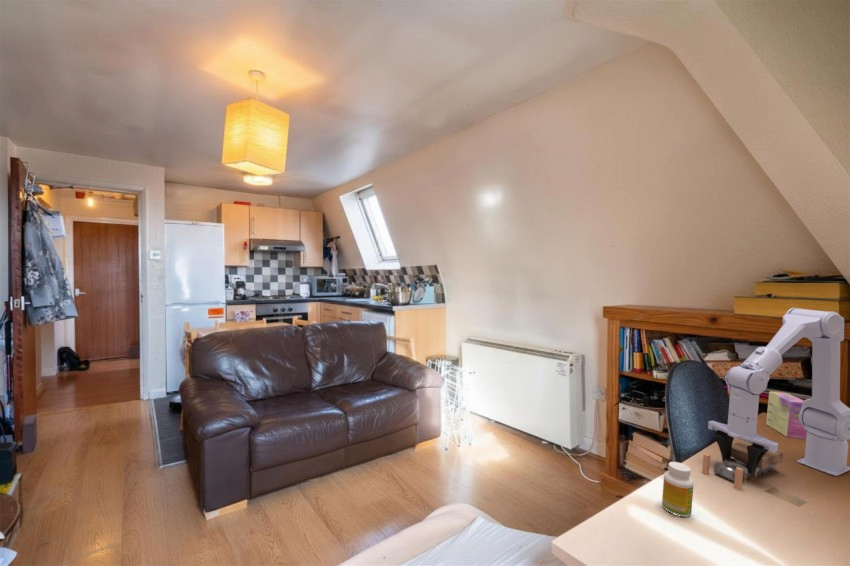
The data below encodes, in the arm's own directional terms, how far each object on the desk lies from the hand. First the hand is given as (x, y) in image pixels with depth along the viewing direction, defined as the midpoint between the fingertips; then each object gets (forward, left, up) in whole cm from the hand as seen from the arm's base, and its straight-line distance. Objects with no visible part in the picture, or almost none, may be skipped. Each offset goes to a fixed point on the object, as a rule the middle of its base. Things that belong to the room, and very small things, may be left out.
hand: (738, 467), depth 101 cm
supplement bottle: (+30, +3, -2) cm, 30 cm away
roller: (0, 0, -1) cm, 1 cm away
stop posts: (+7, 0, -2) cm, 8 cm away
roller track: (-4, +5, -2) cm, 7 cm away
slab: (-7, 0, +1) cm, 7 cm away
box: (-48, -9, -2) cm, 49 cm away
